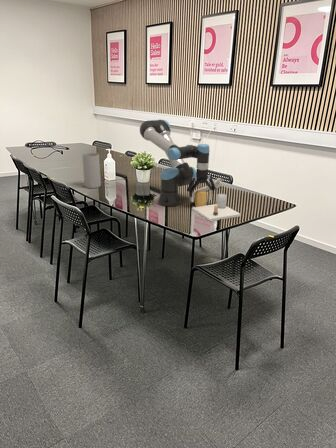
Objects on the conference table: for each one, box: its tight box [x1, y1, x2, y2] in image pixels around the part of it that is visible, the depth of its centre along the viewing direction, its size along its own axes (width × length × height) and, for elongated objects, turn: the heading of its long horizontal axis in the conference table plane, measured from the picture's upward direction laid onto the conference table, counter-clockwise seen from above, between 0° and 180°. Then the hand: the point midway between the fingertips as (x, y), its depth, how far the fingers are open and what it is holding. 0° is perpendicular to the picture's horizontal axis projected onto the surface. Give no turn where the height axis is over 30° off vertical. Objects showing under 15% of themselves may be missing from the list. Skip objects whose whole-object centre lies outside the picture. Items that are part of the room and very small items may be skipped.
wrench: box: [193, 177, 224, 195], centre depth 257 cm, size 8×2×30 cm
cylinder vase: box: [81, 152, 102, 189], centre depth 261 cm, size 12×12×25 cm
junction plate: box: [191, 193, 242, 222], centre depth 211 cm, size 22×22×10 cm
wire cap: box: [194, 189, 208, 207], centre depth 224 cm, size 7×7×10 cm
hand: (200, 200), depth 224 cm, fingers open, 13 cm apart
